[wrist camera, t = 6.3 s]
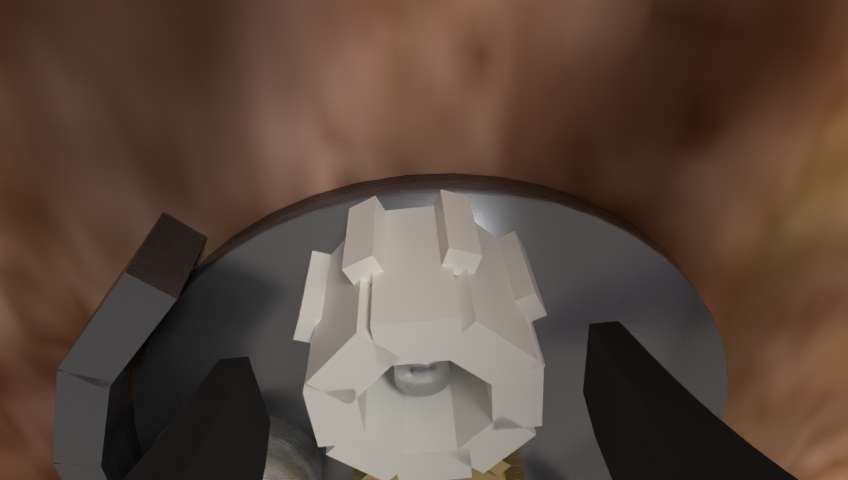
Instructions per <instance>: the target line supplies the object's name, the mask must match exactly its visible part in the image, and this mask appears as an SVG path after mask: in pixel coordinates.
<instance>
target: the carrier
mask: <svg viewBox="0 0 848 480" xmlns="http://www.w3.org/2000/svg"><path fill="white" fill-rule="evenodd" d="M440 189H442V190H446V191H449V192H453V193H457V194H461V195H465V196H469V198H470V203H471V207H472V211H473V216H474V220H475V222H476V223H477V224H478V225H480V226H481V227H483V228H484V229H485V230H487V231H488V232H490V233H491V234H492V235H494V236H495V237H496V238H500V237H502V236H504V235H506V234H508V233H511V232H513V231H515V232H516V234H517V236H518V238H519V240H520V241H521V243H522V245H523V247H524V249H525V251H526V254H527V257H528V260H529V263H530V266H531V269H532V271H533V274H534V277H535V280H536V283H537V286H538V289H539V292H540V295H541V298H542V301H543V304H544V307H545V310H546V313H547V315H546V316H544V317H541V318H539V319H536V320H534V321H532V323H533V326H534V329H535V333H536V336H537V339H538V342H539V346H540V349H541V352H542V356H543V359H544V362H545V367H544V381H543V409H542V426H536V427H535V431H536V435H535V436H534V437H533V438H531V439H530V440H529V441H527V442H526V443H524V444H523V445H522V446H520V447H519V448H518V449H516V450H515V451H514V452H512V453H511V454H509V455H508V456H507V457H505V458H504V459H503V460H501V461H500V462H499V463H497V464H496V465H494V466H493V467H492V468H490V469H489V470H488V471H486V472H485V473H482V472H480V471H478V470H476V469H474V468H472V467H471V472H472V478H462V479H452V480H612V478H611V476H610V473H609V471H608V468H607V466H606V463H605V461H604V458H603V456H602V453H601V451H600V448H599V446H598V443H597V440H596V438H595V435H594V431H593V427H592V424H591V420H590V417H589V413H588V409H587V405H586V401H585V397H584V394H583V386H584V375H585V364H586V353H587V342H588V331H589V324H593V323H603V322H614V321H619V322H620V323H621V324H622V325H623V326H624V327H625V328H626V329H627V330H628V331H629V332H630V333H631V334H632V335H633V336H634V337H635V338H636V339H637V340H638V341H639V342H640V343H641V344H642V346H643V347H644V348H645V349H646V350H647V351H648V352H649V353H650V354H651V355H652V356H653V357H654V358H655V359H656V360H657V361H658V362H659V363H660V364H661V365H662V366H663V367H664V368H665V369H666V370H667V371H668V372H669V373H670V374H671V375H672V376H673V377H674V378H675V379H676V380H677V381H679V382H680V383H681V384H682V385H683V386H684V387H685V388H686V389H687V390H688V391H689V392H690V393H691V394H692V395H693V396H695V397H696V398H697V399H698V400H699V401H700V402H701V403H702V404H703V405H704V406H706V407H707V408H708V409H709V410H710V411H711V412H712V413H713V414H715V415H716V416H717V417H718V418H719V419H720V420H722V419H723V415H724V409H725V404H726V399H727V394H728V366H727V361H726V357H725V352H724V347H723V342H722V338H721V336H720V334H719V332H718V329H717V327H716V325H715V322H714V320H713V318H712V315H711V313H710V311H709V310H708V309H707V307H706V306H705V304H704V303H703V301H702V300H701V298H700V297H699V296H698V294H697V293H696V291H695V290H694V288H693V287H692V285H691V284H690V283H689V281H688V280H687V278H686V277H685V275H684V274H683V273H682V271H681V270H680V268H679V267H678V265H677V264H676V263H675V262H674V261H673V260H672V259H671V258H670V257H669V256H668V255H667V254H666V253H665V252H664V251H663V250H662V249H661V248H660V247H659V246H658V245H657V244H656V243H655V242H654V241H653V240H652V239H650V238H649V237H648V236H646V235H645V234H643V233H642V232H641V231H639V230H638V229H636V228H635V227H634V226H632V225H631V224H629V223H628V222H627V221H625V220H624V219H622V218H620V217H618V216H616V215H614V214H612V213H611V212H609V211H607V210H605V209H603V208H601V207H599V206H597V205H595V204H593V203H591V202H589V201H587V200H584V199H581V198H578V197H575V196H572V195H570V194H567V193H564V192H561V191H558V190H555V189H552V188H549V187H546V186H542V185H537V184H532V183H527V182H522V181H517V180H512V179H508V178H503V177H493V176H480V175H468V174H455V173H451V174H425V175H404V176H398V177H391V178H385V179H379V180H372V181H366V182H360V183H355V184H352V185H348V186H345V187H341V188H338V189H334V190H331V191H327V192H324V193H320V194H317V195H313V196H311V197H308V198H306V199H304V200H301V201H299V202H297V203H294V204H292V205H289V206H287V207H285V208H282V209H280V210H278V211H275V212H273V213H271V214H269V215H268V216H266V217H264V218H262V219H261V220H259V221H257V222H256V223H254V224H252V225H251V226H249V227H247V228H245V229H244V230H242V231H240V232H239V233H237V234H235V235H234V236H233V237H232V238H230V239H229V240H228V241H227V242H225V243H224V244H223V245H222V246H220V247H219V248H218V249H217V250H215V251H214V252H213V253H212V254H210V255H209V256H208V257H207V258H205V259H204V260H203V262H202V263H201V264H200V265H199V266H198V267H197V268H196V269H195V270H194V271H193V273H192V274H191V275H190V276H189V274H190V272H191V270H192V268H193V266H194V264H195V262H196V260H197V258H198V256H199V253H200V251H201V249H202V247H203V245H204V243H205V241H206V239H207V237H205V236H203V235H202V234H200V233H198V232H196V231H195V230H193V229H191V228H189V227H188V226H186V225H184V224H182V223H181V222H179V221H177V220H175V219H174V218H172V217H170V216H169V215H167V214H165V213H163V214H162V215H161V217H160V218H159V220H158V221H157V222H156V224H155V225H154V227H153V228H152V230H151V231H150V232H149V234H148V235H147V237H146V238H145V240H144V241H143V243H142V244H141V245H140V247H139V248H138V250H137V251H136V253H135V254H134V256H133V257H132V258H131V260H130V261H129V263H128V264H127V266H126V267H125V269H124V270H123V271H122V273H121V274H120V276H119V277H118V279H117V280H116V281H115V283H114V284H113V286H112V287H111V289H110V290H109V292H108V293H107V294H106V296H105V297H104V299H103V300H102V302H101V303H100V305H99V306H98V308H97V309H96V311H95V312H94V314H93V315H92V317H91V318H90V320H89V322H88V323H87V325H86V326H85V328H84V329H83V331H82V332H81V334H80V335H79V337H78V338H77V340H76V341H75V343H74V344H73V346H72V348H71V349H70V351H69V352H68V354H67V355H66V357H65V358H64V360H63V361H62V363H61V364H60V366H59V367H58V370H57V383H56V405H55V428H54V451H53V462H54V466H55V468H56V470H57V472H58V473H59V475H60V477H61V479H62V480H123V479H124V478H125V477H126V476H127V474H128V473H129V472H130V471H131V470H132V469H133V467H134V466H135V465H136V464H137V463H138V462H139V461H140V459H141V458H142V457H143V456H144V455H145V454H146V452H147V451H148V450H149V449H150V448H151V446H152V445H153V444H154V443H155V442H156V440H157V439H158V438H159V437H160V435H161V434H162V433H163V432H164V430H165V429H166V428H167V427H168V425H169V424H170V423H171V421H172V420H173V419H174V418H175V416H176V415H177V414H178V413H179V411H180V410H181V409H182V407H183V406H184V405H185V403H186V402H187V401H188V400H189V398H190V397H191V396H192V394H193V393H194V392H195V390H196V389H197V388H198V386H199V385H200V384H201V382H202V381H203V380H204V378H205V377H206V376H207V374H208V373H209V372H210V370H211V369H212V368H213V367H214V365H215V364H216V363H217V362H218V360H219V359H225V358H236V357H246V356H248V357H249V360H250V363H251V366H252V369H253V371H254V374H255V377H256V380H257V383H258V386H259V389H260V392H261V395H262V398H263V400H264V403H265V406H266V409H267V412H268V415H269V418H270V421H271V422H270V432H269V441H268V450H267V458H266V466H265V471H264V476H263V480H380V479H378V478H376V477H373V476H371V475H369V474H367V473H365V472H362V471H360V470H358V469H356V468H354V467H352V466H349V465H347V464H345V463H343V462H341V461H338V460H336V459H334V458H332V457H330V456H328V455H326V448H327V446H325V447H318V445H317V441H316V438H315V434H314V431H313V427H312V424H311V421H310V417H309V414H308V410H307V407H306V403H305V400H304V396H303V388H304V382H305V376H306V370H307V364H308V358H309V352H310V346H311V343H308V342H302V341H297V340H293V338H294V333H295V328H296V323H297V318H298V313H299V308H300V304H301V299H302V294H303V289H304V284H305V279H306V274H307V270H308V266H309V262H310V258H311V255H312V251H317V252H321V253H326V254H330V255H331V254H332V253H333V252H334V251H335V250H336V249H337V248H338V246H339V245H340V244H341V243H342V242H343V241H344V240H345V239H346V230H347V222H348V214H349V208H351V207H353V206H355V205H357V204H359V203H361V202H363V201H365V200H367V199H370V198H372V197H374V196H376V197H377V199H378V200H379V202H380V203H381V205H382V206H383V208H384V209H385V211H387V210H397V209H407V208H417V207H427V206H434V205H435V203H436V200H437V197H438V194H439V192H440ZM188 276H189V277H188ZM155 327H156V328H155ZM154 329H155V330H154ZM153 330H154V332H153V334H152V336H151V338H150V340H149V343H148V345H147V348H146V350H145V353H144V355H143V358H142V360H141V363H140V357H141V350H142V344H143V343H144V342H145V340H146V339H147V338H148V336H149V335H150V334H151V333H152V331H153ZM139 363H140V365H139ZM394 378H395V383H396V385H397V387H398V388H399V389H400V390H401V391H403V392H404V393H406V394H409V395H412V396H417V397H425V396H431V395H434V394H437V393H439V392H441V391H442V390H443V389H445V388H446V386H447V385H448V384H449V382H450V378H451V372H450V363H449V360H447V361H437V362H426V363H416V364H405V365H395V366H394ZM390 480H398V476H397V475H395V476H394V477H393V478H392V479H390Z"/></svg>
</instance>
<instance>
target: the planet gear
mask: <svg viewBox="0 0 848 480" xmlns="http://www.w3.org/2000/svg"><path fill="white" fill-rule="evenodd" d="M546 315H547V313H546V310H545V307H544V304H543V301H542V298H541V295H540V292H539V289H538V286H537V283H536V280H535V277H534V274H533V271H532V269H531V266H530V263H529V260H528V257H527V254H526V251H525V249H524V247H523V245H522V243H521V241H520V240H519V238H518V236H517V234H516V232H515V231H513V232H511V233H508V234H506V235H504V236H502V237H500V238H496V237H495V236H494V235H492V234H491V233H490V232H488V231H487V230H485V229H484V228H483V227H481V226H480V225H478V224H477V223H476V222H475V220H474V216H473V211H472V207H471V203H470V198H469V196H465V195H461V194H457V193H453V192H449V191H446V190H442V189H440V192H439V194H438V197H437V200H436V203H435V205H434V206H427V207H417V208H407V209H397V210H387V211H385V209H384V208H383V206H382V205H381V203H380V202H379V200H378V199H377V197H376V196H374V197H372V198H370V199H367V200H365V201H363V202H361V203H359V204H357V205H355V206H353V207H351V208H349V214H348V222H347V230H346V239H345V240H344V241H343V242H342V243H341V244H340V245H339V246H338V248H337V249H336V250H335V251H334V252H333V253H332V254H331V255H330V254H326V253H321V252H317V251H312V255H311V258H310V262H309V266H308V270H307V274H306V279H305V284H304V289H303V294H302V299H301V304H300V308H299V313H298V318H297V323H296V328H295V333H294V338H293V340H297V341H302V342H308V343H311V346H310V352H309V358H308V364H307V370H306V376H305V382H304V388H303V396H304V400H305V403H306V407H307V410H308V414H309V417H310V421H311V424H312V427H313V431H314V434H315V438H316V441H317V445H318V447H325V446H327V448H326V455H328V456H330V457H332V458H334V459H336V460H338V461H341V462H343V463H345V464H347V465H349V466H352V467H354V468H356V469H358V470H360V471H362V472H365V473H367V474H369V475H371V476H373V477H376V478H378V479H380V480H390V479H392V478H393V477H394V476H395V475H397V476H398V480H452V479H462V478H472V472H471V467H472V468H474V469H476V470H478V471H480V472H482V473H485V472H486V471H488V470H489V469H490V468H492V467H493V466H494V465H496V464H497V463H499V462H500V461H501V460H503V459H504V458H505V457H507V456H508V455H509V454H511V453H512V452H514V451H515V450H516V449H518V448H519V447H520V446H522V445H523V444H524V443H526V442H527V441H529V440H530V439H531V438H533V437H534V436H535V435H536V431H535V427H536V426H542V409H543V381H544V367H545V362H544V359H543V356H542V352H541V349H540V346H539V342H538V339H537V336H536V333H535V329H534V326H533V323H532V321H534V320H536V319H539V318H541V317H544V316H546ZM447 360H449V363H450V372H451V378H450V382H449V384H448V385H447V386H446V388H445V389H443V390H442V391H441V392H439V393H437V394H434V395H431V396H425V397H417V396H412V395H409V394H406V393H404V392H403V391H401V390H400V389H399V388H398V387H397V385H396V383H395V378H394V366H395V365H405V364H416V363H426V362H437V361H447Z"/></svg>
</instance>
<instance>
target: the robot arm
mask: <svg viewBox="0 0 848 480" xmlns="http://www.w3.org/2000/svg"><path fill="white" fill-rule="evenodd" d="M583 394H584V397H585V401H586V405H587V409H588V413H589V417H590V420H591V424H592V427H593V431H594V435H595V438H596V440H597V443H598V446H599V448H600V451H601V453H602V456H603V458H604V461H605V463H606V466H607V468H608V471H609V473H610V476H611V478H612V480H798V479H797V478H795V477H794V476H792V475H791V474H789V473H788V472H787V471H785V470H784V469H782V468H781V467H780V466H778V465H777V464H776V463H774V462H773V461H772V460H770V459H769V458H768V457H766V456H765V455H764V454H762V453H761V452H760V451H758V450H757V449H756V448H754V447H753V446H752V445H751V444H749V443H748V442H747V441H746V440H744V439H743V438H742V437H741V436H739V435H738V434H737V433H736V432H735V431H733V430H732V429H731V428H730V427H729V426H727V425H726V424H725V423H724V422H723V421H722V420H720V419H719V418H718V417H717V416H716V415H715V414H713V413H712V412H711V411H710V410H709V409H708V408H707V407H706V406H704V405H703V404H702V403H701V402H700V401H699V400H698V399H697V398H696V397H695V396H693V395H692V394H691V393H690V392H689V391H688V390H687V389H686V388H685V387H684V386H683V385H682V384H681V383H680V382H679V381H677V380H676V379H675V378H674V377H673V376H672V375H671V374H670V373H669V372H668V371H667V370H666V369H665V368H664V367H663V366H662V365H661V364H660V363H659V362H658V361H657V360H656V359H655V358H654V357H653V356H652V355H651V354H650V353H649V352H648V351H647V350H646V349H645V348H644V347H643V346H642V344H641V343H640V342H639V341H638V340H637V339H636V338H635V337H634V336H633V335H632V334H631V333H630V332H629V331H628V330H627V329H626V328H625V327H624V326H623V325H622V324H621V323H620V322H619V321H614V322H603V323H593V324H589V331H588V342H587V353H586V364H585V375H584V386H583ZM270 422H271V421H270V418H269V415H268V412H267V409H266V406H265V403H264V400H263V398H262V395H261V392H260V389H259V386H258V383H257V380H256V377H255V374H254V371H253V369H252V366H251V363H250V360H249V357H248V356H246V357H236V358H225V359H219V360H218V362H217V363H216V364H215V365H214V367H213V368H212V369H211V370H210V372H209V373H208V374H207V376H206V377H205V378H204V380H203V381H202V382H201V384H200V385H199V386H198V388H197V389H196V390H195V392H194V393H193V394H192V396H191V397H190V398H189V400H188V401H187V402H186V403H185V405H184V406H183V407H182V409H181V410H180V411H179V413H178V414H177V415H176V416H175V418H174V419H173V420H172V421H171V423H170V424H169V425H168V427H167V428H166V429H165V430H164V432H163V433H162V434H161V435H160V437H159V438H158V439H157V440H156V442H155V443H154V444H153V445H152V446H151V448H150V449H149V450H148V451H147V452H146V454H145V455H144V456H143V457H142V458H141V459H140V461H139V462H138V463H137V464H136V465H135V466H134V467H133V469H132V470H131V471H130V472H129V473H128V474H127V476H126V477H125V478H124V479H123V480H263V476H264V471H265V466H266V458H267V450H268V441H269V432H270Z"/></svg>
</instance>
